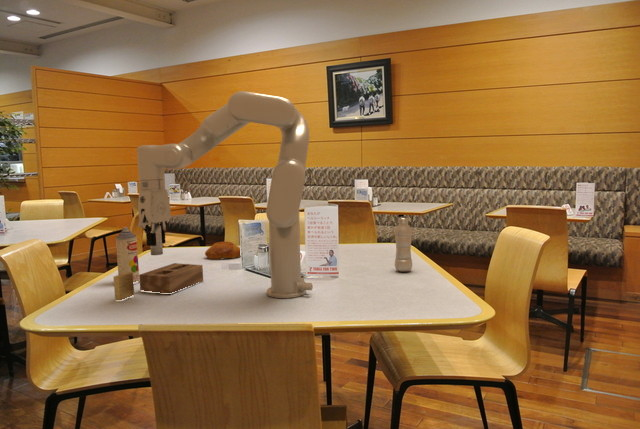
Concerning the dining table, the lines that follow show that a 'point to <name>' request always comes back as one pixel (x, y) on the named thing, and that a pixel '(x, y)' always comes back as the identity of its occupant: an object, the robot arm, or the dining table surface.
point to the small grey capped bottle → (157, 241)
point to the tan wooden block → (123, 286)
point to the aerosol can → (127, 253)
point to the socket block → (171, 278)
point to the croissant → (223, 250)
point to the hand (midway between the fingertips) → (156, 243)
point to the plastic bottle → (403, 245)
